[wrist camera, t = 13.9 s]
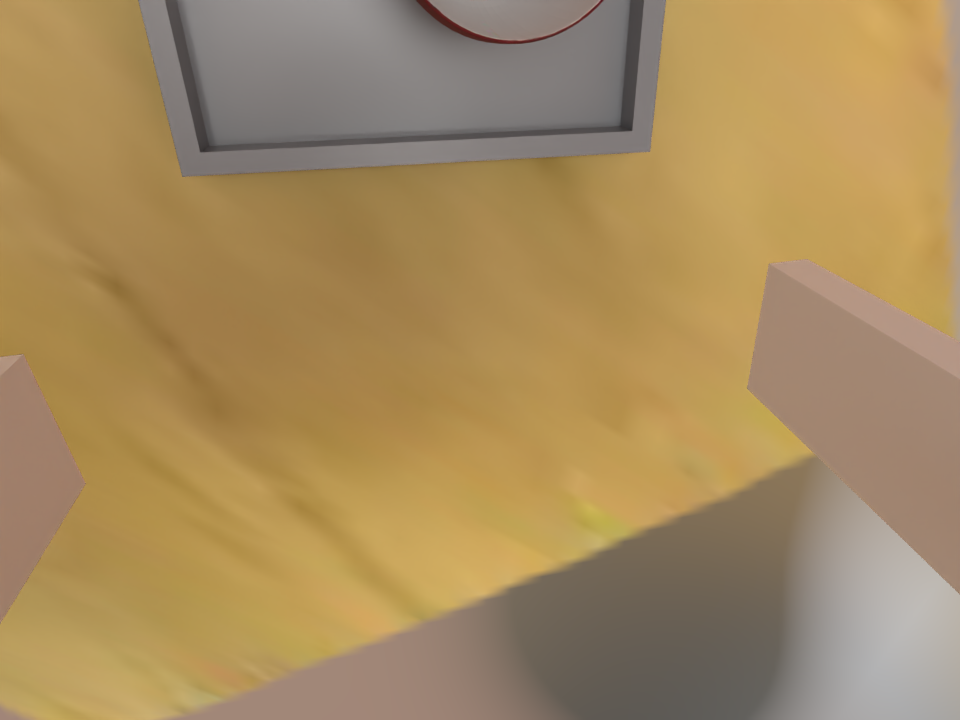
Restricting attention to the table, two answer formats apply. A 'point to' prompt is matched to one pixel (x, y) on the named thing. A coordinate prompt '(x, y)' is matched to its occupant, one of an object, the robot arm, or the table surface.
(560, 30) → the mug
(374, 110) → the tray
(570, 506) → the table surface
